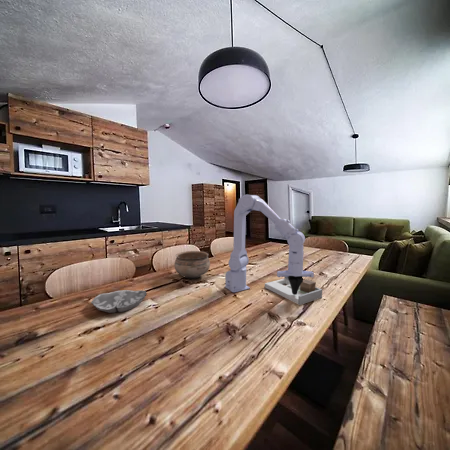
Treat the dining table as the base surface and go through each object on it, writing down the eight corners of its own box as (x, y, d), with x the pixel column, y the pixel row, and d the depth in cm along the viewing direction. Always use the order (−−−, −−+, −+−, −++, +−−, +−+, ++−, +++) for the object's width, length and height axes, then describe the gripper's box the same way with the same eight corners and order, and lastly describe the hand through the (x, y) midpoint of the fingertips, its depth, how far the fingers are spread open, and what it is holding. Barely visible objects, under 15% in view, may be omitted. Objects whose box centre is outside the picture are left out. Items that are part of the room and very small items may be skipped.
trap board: (299, 305, 86) (300, 296, 86) (264, 287, 104) (264, 280, 103) (321, 297, 93) (322, 289, 93) (285, 282, 111) (285, 275, 110)
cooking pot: (220, 279, 114) (220, 256, 113) (187, 288, 102) (187, 262, 101) (196, 267, 134) (196, 248, 132) (166, 274, 122) (166, 252, 121)
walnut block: (309, 293, 92) (309, 284, 92) (300, 290, 96) (300, 281, 95) (315, 291, 95) (315, 282, 94) (306, 287, 98) (306, 279, 98)
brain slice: (84, 320, 75) (83, 312, 75) (98, 299, 91) (98, 292, 91) (144, 313, 80) (144, 305, 80) (148, 294, 96) (147, 287, 96)
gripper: (309, 259, 93) (308, 289, 94) (275, 258, 93) (274, 289, 94) (316, 263, 86) (314, 296, 87) (279, 263, 86) (278, 296, 87)
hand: (294, 293), depth 90 cm, fingers closed
